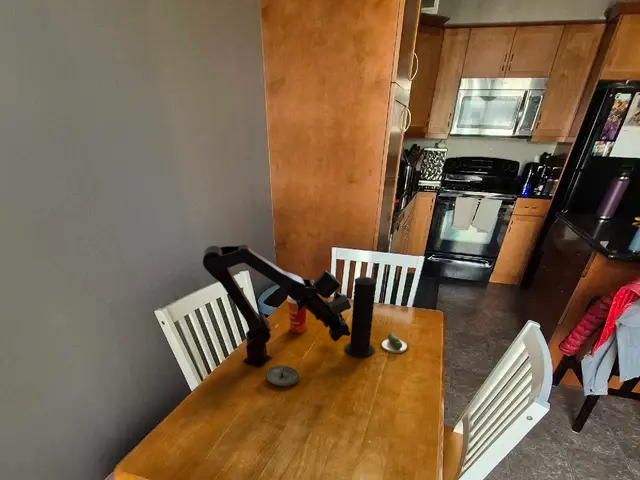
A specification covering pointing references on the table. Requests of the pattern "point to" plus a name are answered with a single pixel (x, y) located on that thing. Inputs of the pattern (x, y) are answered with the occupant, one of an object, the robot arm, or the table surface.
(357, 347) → the handle grip
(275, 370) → the lid
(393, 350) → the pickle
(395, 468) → the table surface
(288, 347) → the table surface
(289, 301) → the paper cup
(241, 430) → the table surface
